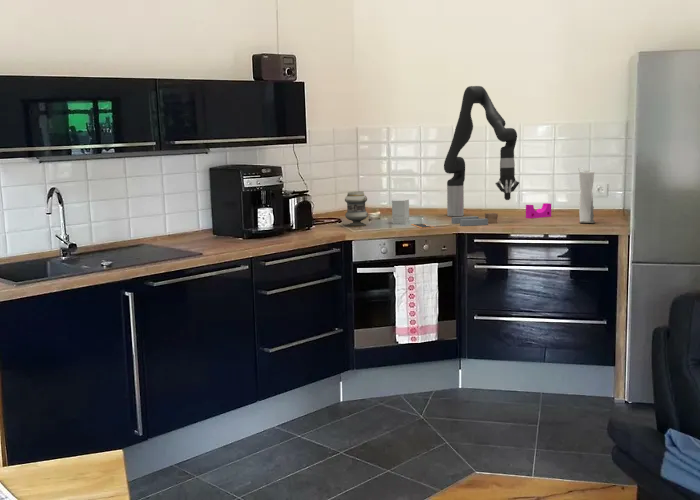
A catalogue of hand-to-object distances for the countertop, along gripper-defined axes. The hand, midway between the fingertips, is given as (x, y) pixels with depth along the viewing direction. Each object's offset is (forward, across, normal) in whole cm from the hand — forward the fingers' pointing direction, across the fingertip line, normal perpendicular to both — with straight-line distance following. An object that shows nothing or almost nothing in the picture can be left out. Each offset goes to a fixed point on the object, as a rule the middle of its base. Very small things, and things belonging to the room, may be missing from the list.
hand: (507, 199), depth 419 cm
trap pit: (+12, +46, 0) cm, 48 cm away
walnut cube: (+12, +9, 0) cm, 15 cm away
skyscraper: (+12, -36, +16) cm, 42 cm away
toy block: (+12, -25, -17) cm, 32 cm away
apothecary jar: (+12, +78, -16) cm, 80 cm away
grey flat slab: (+12, +21, 0) cm, 24 cm away
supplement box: (+12, +53, -18) cm, 57 cm away
